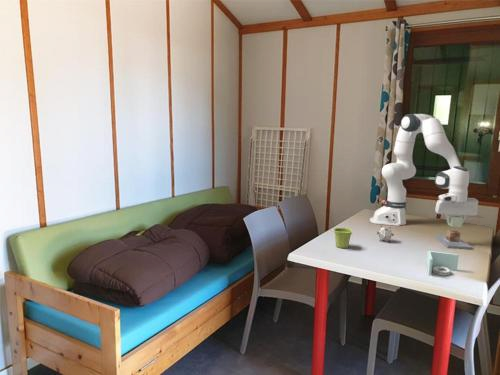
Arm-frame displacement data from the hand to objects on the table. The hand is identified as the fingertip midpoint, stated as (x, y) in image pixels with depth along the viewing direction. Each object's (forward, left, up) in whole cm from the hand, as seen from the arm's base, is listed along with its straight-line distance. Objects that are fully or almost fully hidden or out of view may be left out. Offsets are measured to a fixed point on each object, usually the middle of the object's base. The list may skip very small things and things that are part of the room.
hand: (454, 222), depth 204 cm
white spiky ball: (-36, -4, -12) cm, 38 cm away
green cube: (0, 0, -2) cm, 2 cm away
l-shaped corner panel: (-21, -47, -12) cm, 52 cm away
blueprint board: (0, 0, -11) cm, 11 cm away
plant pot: (-60, -19, -12) cm, 64 cm away
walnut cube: (0, 0, -10) cm, 10 cm away
